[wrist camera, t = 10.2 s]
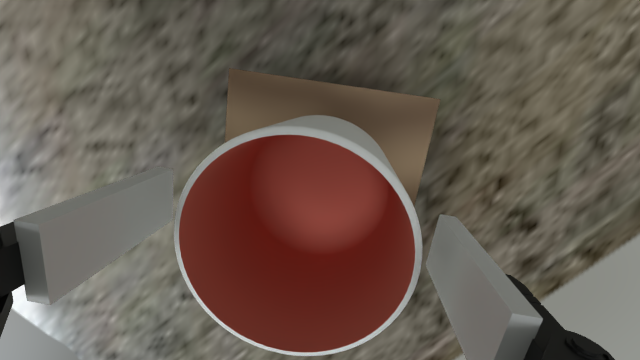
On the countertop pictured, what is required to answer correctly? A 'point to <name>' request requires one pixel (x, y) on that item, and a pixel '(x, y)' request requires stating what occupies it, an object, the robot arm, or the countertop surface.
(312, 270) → the cup
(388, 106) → the stool
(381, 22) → the countertop surface
